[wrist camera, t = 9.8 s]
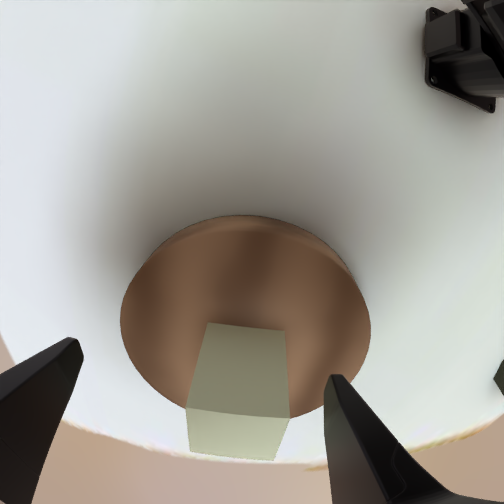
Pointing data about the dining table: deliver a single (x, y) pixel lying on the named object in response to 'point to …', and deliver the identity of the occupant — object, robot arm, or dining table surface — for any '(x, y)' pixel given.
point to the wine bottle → (500, 377)
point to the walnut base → (245, 304)
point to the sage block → (239, 393)
